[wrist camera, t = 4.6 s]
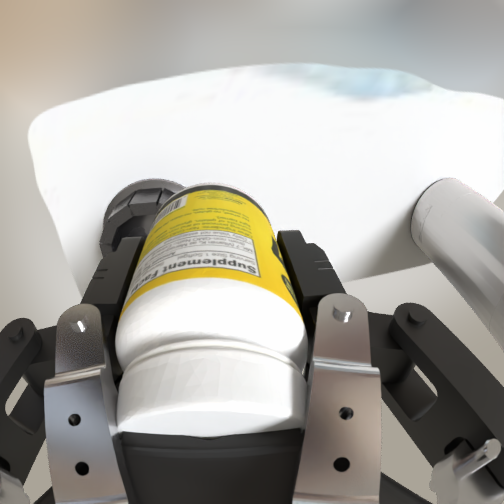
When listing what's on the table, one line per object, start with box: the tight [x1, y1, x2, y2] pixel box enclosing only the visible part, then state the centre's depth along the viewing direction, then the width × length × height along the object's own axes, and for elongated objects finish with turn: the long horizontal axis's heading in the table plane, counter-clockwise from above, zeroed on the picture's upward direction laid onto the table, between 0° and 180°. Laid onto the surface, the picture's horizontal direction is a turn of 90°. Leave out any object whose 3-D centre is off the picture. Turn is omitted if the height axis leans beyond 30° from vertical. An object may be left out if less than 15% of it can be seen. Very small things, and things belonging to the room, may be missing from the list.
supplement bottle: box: [115, 183, 308, 440], centre depth 8 cm, size 5×5×8 cm
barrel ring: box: [100, 179, 186, 258], centre depth 25 cm, size 10×10×3 cm
